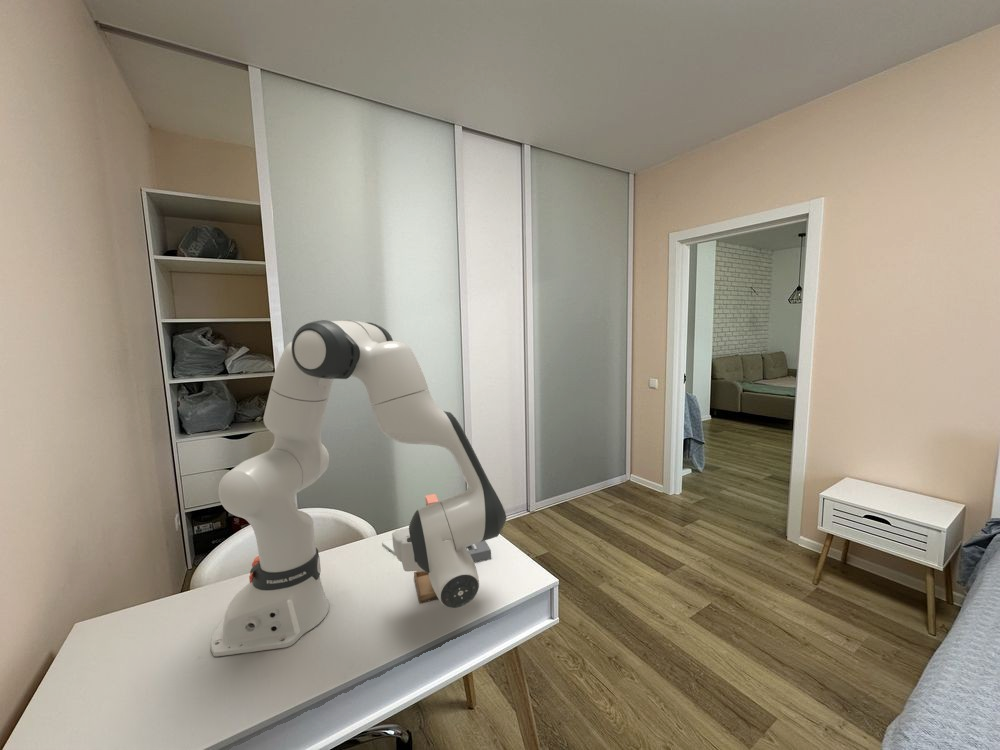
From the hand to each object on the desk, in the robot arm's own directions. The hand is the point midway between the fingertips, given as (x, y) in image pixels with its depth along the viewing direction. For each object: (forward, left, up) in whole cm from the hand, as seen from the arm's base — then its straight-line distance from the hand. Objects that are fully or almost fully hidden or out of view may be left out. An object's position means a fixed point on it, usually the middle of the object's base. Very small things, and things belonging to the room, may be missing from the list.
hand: (433, 520), depth 98 cm
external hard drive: (-5, +23, -17) cm, 30 cm away
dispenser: (+10, +10, -17) cm, 22 cm away
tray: (0, -1, -17) cm, 17 cm away
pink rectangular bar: (0, -1, -8) cm, 8 cm away
